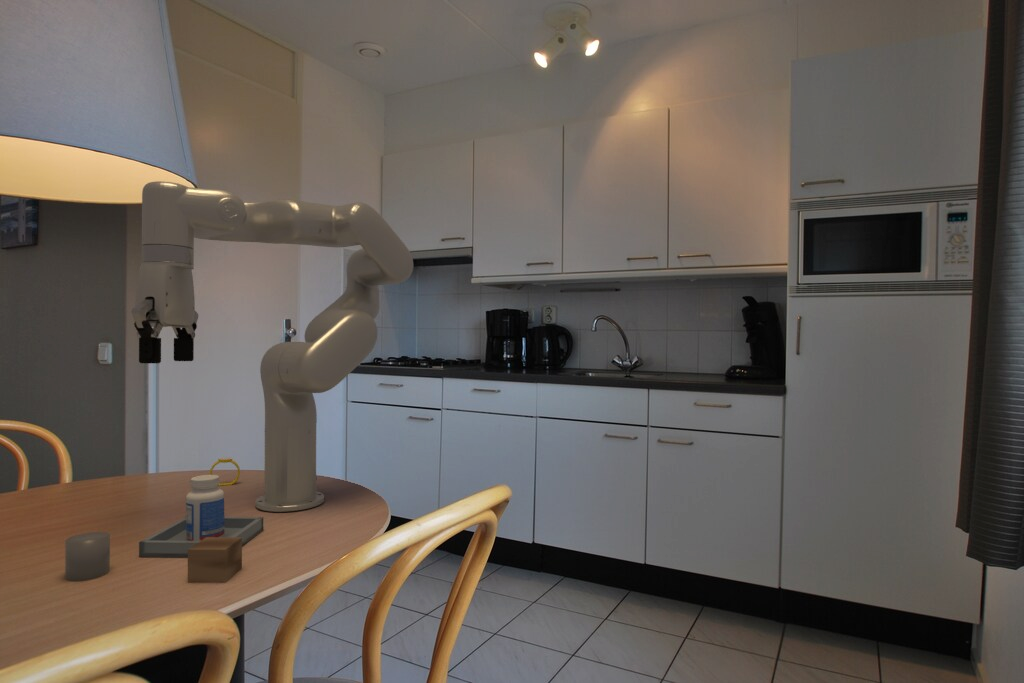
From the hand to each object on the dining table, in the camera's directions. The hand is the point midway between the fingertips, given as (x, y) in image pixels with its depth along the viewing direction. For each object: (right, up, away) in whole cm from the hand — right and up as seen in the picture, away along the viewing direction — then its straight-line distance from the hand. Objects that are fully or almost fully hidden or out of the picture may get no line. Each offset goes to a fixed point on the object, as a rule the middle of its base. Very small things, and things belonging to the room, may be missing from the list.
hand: (167, 362), depth 101 cm
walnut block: (+17, -29, -18) cm, 38 cm away
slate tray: (+9, -28, -5) cm, 30 cm away
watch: (-6, -28, +33) cm, 44 cm away
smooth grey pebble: (-1, -28, -18) cm, 34 cm away
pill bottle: (+9, -28, -5) cm, 30 cm away
